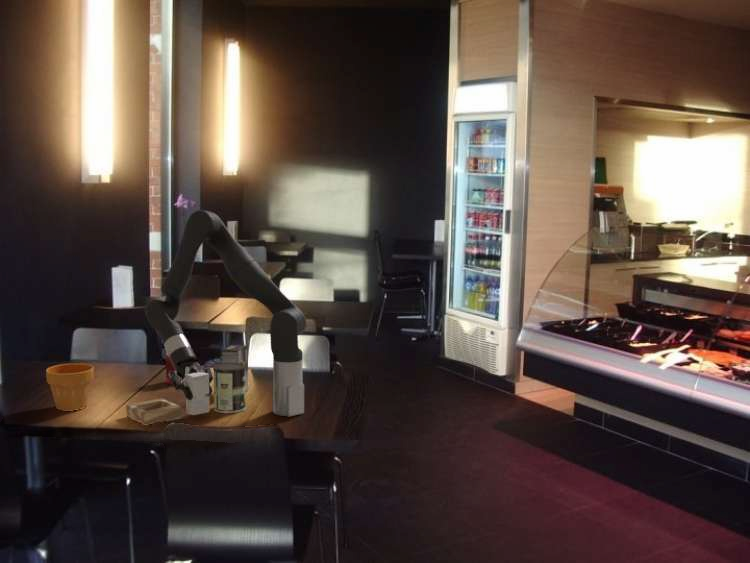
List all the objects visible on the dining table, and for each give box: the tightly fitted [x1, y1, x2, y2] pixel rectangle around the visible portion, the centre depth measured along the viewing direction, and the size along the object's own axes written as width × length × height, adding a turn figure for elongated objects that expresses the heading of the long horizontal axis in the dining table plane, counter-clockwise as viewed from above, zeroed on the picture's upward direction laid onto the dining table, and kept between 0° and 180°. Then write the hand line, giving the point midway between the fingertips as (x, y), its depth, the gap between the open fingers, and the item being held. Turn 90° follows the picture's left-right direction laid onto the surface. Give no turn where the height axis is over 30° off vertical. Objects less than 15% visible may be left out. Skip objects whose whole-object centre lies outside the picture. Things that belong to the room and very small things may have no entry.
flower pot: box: [45, 362, 95, 410], centre depth 257 cm, size 14×14×13 cm
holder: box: [125, 397, 182, 424], centre depth 249 cm, size 12×12×4 cm
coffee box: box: [220, 344, 249, 393], centre depth 278 cm, size 9×6×16 cm
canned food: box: [165, 352, 181, 386], centre depth 291 cm, size 8×8×11 cm
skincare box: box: [185, 371, 210, 416], centre depth 249 cm, size 6×4×12 cm
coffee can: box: [212, 362, 247, 414], centre depth 259 cm, size 10×10×14 cm
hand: (200, 396), depth 248 cm, fingers closed on skincare box, 6 cm apart
